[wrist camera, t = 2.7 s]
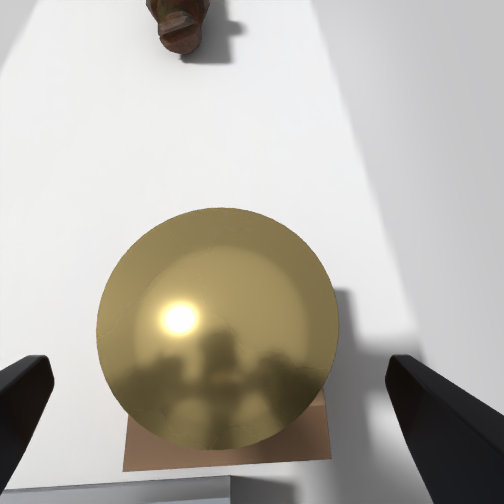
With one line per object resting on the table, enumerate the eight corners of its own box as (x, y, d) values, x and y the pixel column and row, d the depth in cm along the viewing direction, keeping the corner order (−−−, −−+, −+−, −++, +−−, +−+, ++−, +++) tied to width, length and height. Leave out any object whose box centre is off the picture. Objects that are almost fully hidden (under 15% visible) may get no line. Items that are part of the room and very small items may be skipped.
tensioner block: (313, 445, 15) (331, 458, 12) (143, 455, 14) (122, 471, 12) (297, 285, 18) (308, 267, 15) (157, 288, 17) (143, 270, 15)
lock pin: (269, 401, 16) (358, 442, 5) (189, 405, 15) (75, 458, 4) (265, 321, 17) (322, 207, 6) (191, 323, 17) (114, 208, 6)
